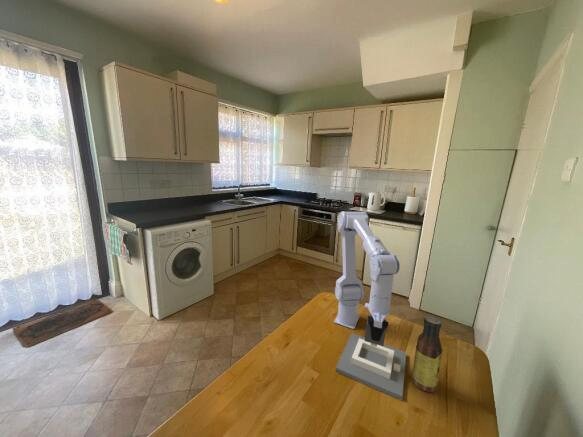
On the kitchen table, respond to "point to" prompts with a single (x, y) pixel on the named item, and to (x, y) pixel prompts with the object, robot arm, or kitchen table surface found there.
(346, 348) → the socket
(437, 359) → the sauce bottle
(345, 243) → the robot arm
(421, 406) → the kitchen table surface
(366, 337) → the plug
